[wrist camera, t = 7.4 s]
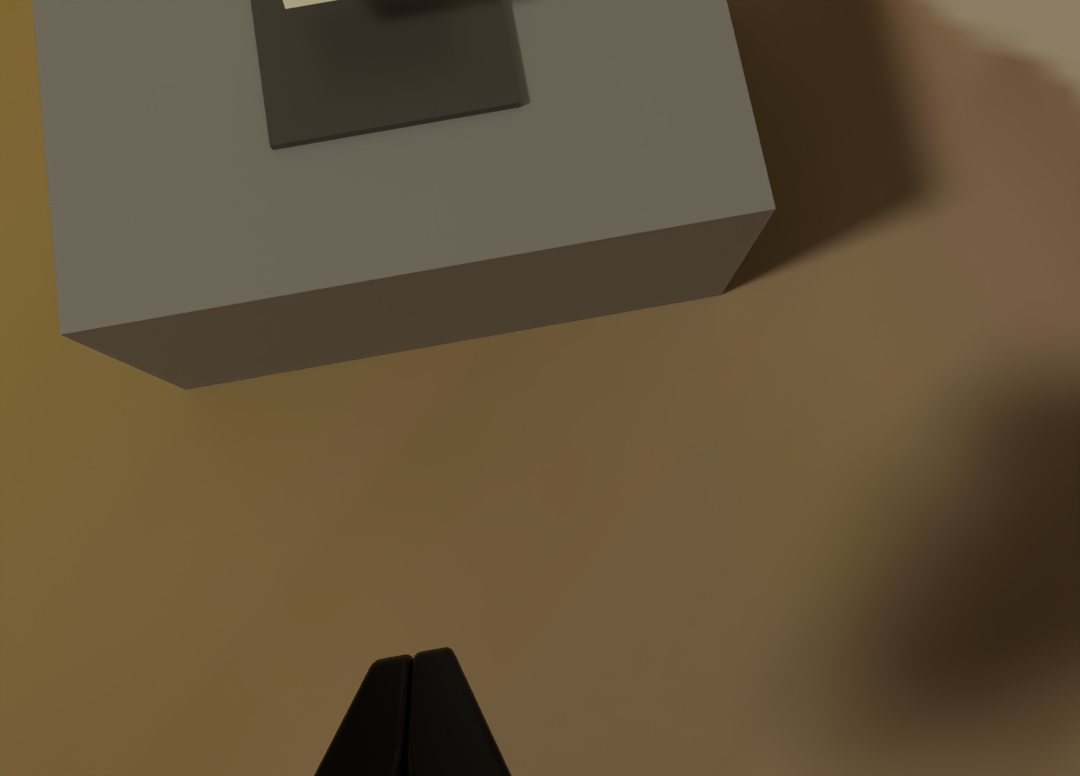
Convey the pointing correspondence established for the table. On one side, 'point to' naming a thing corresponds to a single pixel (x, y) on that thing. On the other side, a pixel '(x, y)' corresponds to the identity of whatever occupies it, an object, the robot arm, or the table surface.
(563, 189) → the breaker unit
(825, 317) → the table surface
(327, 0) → the breaker lever
